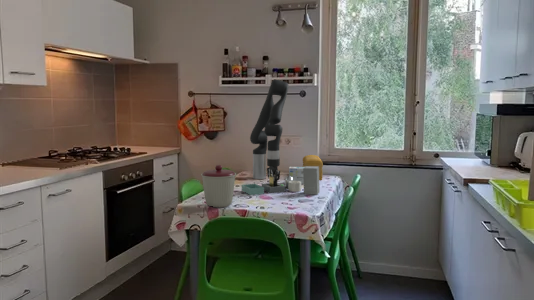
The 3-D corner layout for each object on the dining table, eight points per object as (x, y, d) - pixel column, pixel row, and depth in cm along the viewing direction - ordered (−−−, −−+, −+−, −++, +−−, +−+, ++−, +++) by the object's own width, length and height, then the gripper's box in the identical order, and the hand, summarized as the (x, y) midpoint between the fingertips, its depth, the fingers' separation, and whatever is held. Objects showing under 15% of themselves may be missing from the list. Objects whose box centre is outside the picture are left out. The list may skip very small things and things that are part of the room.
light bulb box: (305, 182, 281) (305, 166, 280) (305, 184, 275) (305, 168, 273) (289, 182, 282) (289, 166, 281) (288, 184, 276) (288, 167, 274)
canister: (240, 202, 227) (240, 163, 224) (230, 210, 209) (230, 168, 207) (208, 200, 231) (208, 161, 228) (195, 208, 213) (195, 166, 211)
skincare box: (319, 192, 251) (320, 166, 249) (317, 195, 244) (317, 168, 242) (305, 191, 253) (306, 165, 251) (302, 194, 247) (303, 167, 245)
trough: (241, 190, 256) (241, 184, 255) (254, 189, 259) (254, 183, 259) (250, 195, 244) (250, 189, 243) (263, 193, 247) (263, 187, 247)
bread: (322, 180, 290) (323, 158, 288) (303, 180, 291) (304, 158, 289) (319, 174, 314) (320, 154, 313) (302, 174, 315) (302, 154, 313)
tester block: (261, 189, 259) (261, 182, 259) (276, 188, 263) (276, 181, 263) (269, 193, 248) (269, 186, 248) (285, 191, 253) (285, 185, 252)
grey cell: (283, 187, 264) (283, 175, 263) (290, 187, 266) (290, 175, 265) (287, 189, 260) (287, 177, 259) (294, 188, 262) (294, 176, 261)
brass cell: (275, 187, 259) (275, 174, 258) (278, 188, 255) (278, 176, 254) (267, 187, 257) (268, 175, 256) (271, 189, 253) (271, 176, 252)
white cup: (286, 189, 258) (286, 181, 258) (297, 188, 261) (297, 180, 261) (291, 192, 251) (291, 183, 251) (303, 191, 255) (303, 182, 254)
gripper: (284, 159, 249) (284, 187, 251) (273, 156, 262) (273, 183, 264) (272, 159, 246) (272, 188, 248) (262, 156, 259) (262, 184, 261)
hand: (273, 185), depth 256 cm, fingers closed on brass cell, 4 cm apart
